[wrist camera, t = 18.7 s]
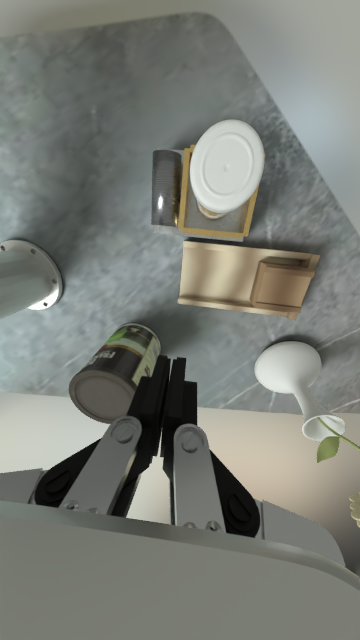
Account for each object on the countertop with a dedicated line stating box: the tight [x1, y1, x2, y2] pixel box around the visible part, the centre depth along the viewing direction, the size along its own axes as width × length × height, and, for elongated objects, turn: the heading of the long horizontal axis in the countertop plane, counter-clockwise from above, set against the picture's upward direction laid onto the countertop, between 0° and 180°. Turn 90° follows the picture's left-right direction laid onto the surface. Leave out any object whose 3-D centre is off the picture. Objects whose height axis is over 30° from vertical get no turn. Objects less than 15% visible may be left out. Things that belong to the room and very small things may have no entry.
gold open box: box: [151, 145, 266, 242], centre depth 24 cm, size 12×9×7 cm
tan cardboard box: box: [249, 261, 316, 313], centre depth 28 cm, size 6×6×4 cm
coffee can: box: [69, 323, 161, 424], centre depth 33 cm, size 10×10×14 cm
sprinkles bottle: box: [190, 119, 264, 220], centre depth 17 cm, size 5×5×14 cm
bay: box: [178, 240, 321, 320], centre depth 29 cm, size 18×10×4 cm, turn 85°
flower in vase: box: [255, 341, 360, 527], centre depth 25 cm, size 13×11×25 cm
